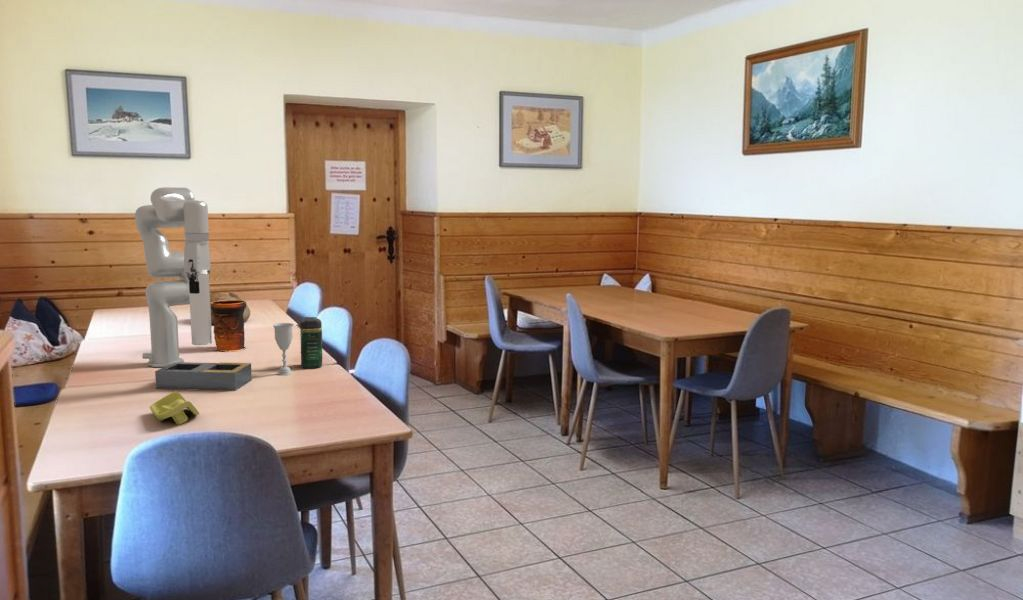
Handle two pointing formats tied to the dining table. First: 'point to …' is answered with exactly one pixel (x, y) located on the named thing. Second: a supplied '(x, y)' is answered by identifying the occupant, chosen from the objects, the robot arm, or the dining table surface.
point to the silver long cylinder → (201, 312)
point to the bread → (217, 297)
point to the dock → (203, 376)
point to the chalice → (283, 343)
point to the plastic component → (173, 408)
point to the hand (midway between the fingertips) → (199, 291)
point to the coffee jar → (311, 342)
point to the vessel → (228, 324)
